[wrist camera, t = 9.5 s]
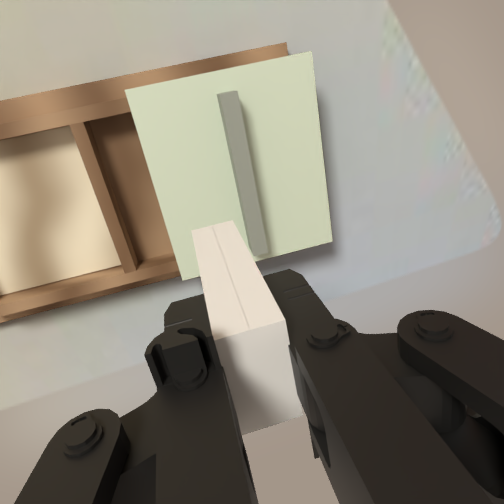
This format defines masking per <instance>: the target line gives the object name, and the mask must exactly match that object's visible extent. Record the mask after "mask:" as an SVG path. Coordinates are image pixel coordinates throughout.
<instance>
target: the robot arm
mask: <svg viewBox="0 0 504 504" xmlns="http://www.w3.org/2000/svg"><path fill="white" fill-rule="evenodd" d="M191 232H192V237H193V242H194V247H195V252H196V257H197V261H198V266H199V271H200V276H201V281H202V286H203V291H204V294H201V295H198V296H194V297H190V298H187V299H183V300H179V301H176V302H172V303H171V304H170V306H169V307H168V309H167V311H166V312H165V314H164V326H165V328H164V332H163V333H161V334H160V335H158V336H157V337H155V338H154V339H153V341H152V342H151V343H150V344H149V345H148V346H147V349H146V352H145V358H146V361H147V363H148V366H149V368H150V371H151V373H152V376H153V379H154V381H155V383H156V386H157V392H156V393H155V395H154V396H153V397H151V398H150V399H149V400H148V401H147V402H145V403H144V404H143V405H141V406H139V407H138V408H136V409H135V410H133V411H131V412H129V413H128V414H126V415H124V416H122V417H120V418H119V417H118V414H116V413H115V412H113V411H111V410H110V409H95V410H92V411H88V412H84V413H83V414H81V415H79V416H77V417H75V418H74V419H71V420H70V421H69V422H67V423H66V424H65V425H64V426H63V427H61V428H60V429H59V430H58V431H57V432H56V434H55V435H54V437H53V438H52V439H51V440H50V442H49V443H48V445H47V447H46V448H45V450H44V452H43V454H42V455H41V457H40V459H39V461H38V462H37V464H36V466H35V468H34V469H33V471H32V473H31V475H30V477H29V478H28V480H27V482H26V484H25V485H24V487H23V489H22V491H21V493H20V494H19V496H18V498H17V500H16V501H15V503H14V504H258V500H257V496H256V491H255V487H254V483H253V478H252V474H251V470H250V466H249V461H248V457H247V454H246V450H245V447H244V443H243V439H242V435H244V434H247V433H251V432H254V431H257V430H260V429H263V428H266V427H269V426H273V425H276V424H279V423H282V422H285V421H288V420H291V419H294V418H297V417H301V416H303V412H302V407H303V409H304V411H305V413H306V416H307V418H308V423H309V429H310V435H311V440H312V446H313V451H314V457H315V459H316V458H319V456H320V459H321V461H322V463H323V466H324V468H325V471H326V473H327V475H328V477H329V480H330V482H331V485H332V487H333V489H334V492H335V494H336V496H337V499H338V501H339V503H340V504H504V340H502V339H500V338H498V337H496V336H494V335H492V334H490V333H489V332H487V331H485V330H483V329H481V328H479V327H477V326H475V325H473V324H471V323H469V322H467V321H465V320H463V319H461V318H459V317H457V316H455V315H452V314H449V313H447V312H442V311H435V310H425V311H424V310H423V311H416V312H413V313H410V314H408V315H406V316H405V317H403V318H402V319H401V320H400V322H399V324H398V327H397V333H387V334H362V333H358V332H357V331H356V329H355V328H353V327H352V326H351V325H350V324H348V323H347V322H345V321H342V320H339V319H334V318H333V316H332V315H331V313H330V312H329V311H328V309H327V308H326V307H325V305H324V304H323V303H322V301H321V300H320V299H319V297H318V296H317V295H316V293H314V291H313V289H312V288H311V286H309V284H308V282H307V281H306V280H305V278H304V277H303V276H302V275H301V274H299V273H297V272H295V271H293V270H290V269H288V270H284V271H280V272H277V273H273V274H269V275H266V276H262V275H261V273H260V271H259V269H258V267H257V265H256V263H255V261H254V259H253V258H252V256H251V254H250V252H249V250H248V248H247V246H246V244H245V242H244V241H243V239H242V237H241V235H240V233H239V231H238V229H237V227H236V226H235V224H234V222H233V220H231V221H227V222H223V223H219V224H215V225H211V226H207V227H203V228H199V229H195V230H191ZM301 404H302V407H301Z"/></svg>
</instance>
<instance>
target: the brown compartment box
mask: <svg viewBox="0 0 504 504" xmlns="http://www.w3.org/2000/svg"><path fill="white" fill-rule="evenodd" d="M285 56H288V51H287V44H286V43H281V44H276V45H271V46H266V47H261V48H256V49H251V50H247V51H242V52H237V53H232V54H227V55H222V56H217V57H212V58H207V59H203V60H198V61H193V62H188V63H183V64H178V65H173V66H168V67H163V68H159V69H154V70H149V71H144V72H139V73H134V74H129V75H124V76H119V77H115V78H110V79H105V80H100V81H95V82H90V83H85V84H80V85H76V86H71V87H66V88H61V89H56V90H51V91H46V92H41V93H36V94H32V95H27V96H22V97H17V98H12V99H7V100H2V101H0V323H2V322H5V321H9V320H13V319H17V318H21V317H25V316H28V315H32V314H36V313H40V312H44V311H48V310H51V309H55V308H59V307H63V306H67V305H71V304H74V303H78V302H82V301H86V300H90V299H94V298H97V297H101V296H105V295H109V294H113V293H117V292H120V291H124V290H128V289H132V288H136V287H140V286H143V285H147V284H151V283H155V282H159V281H163V280H166V279H170V278H174V277H178V276H181V274H180V271H179V267H178V264H177V261H176V257H175V254H174V251H173V248H172V244H171V241H170V238H169V234H168V231H167V228H166V225H165V221H164V218H163V215H162V211H161V208H160V205H159V202H158V198H157V195H156V192H155V188H154V185H153V182H152V179H151V175H150V172H149V169H148V165H147V162H146V159H145V156H144V152H143V149H142V146H141V142H140V139H139V136H138V133H137V129H136V126H135V123H134V119H133V116H132V113H131V110H130V106H129V103H128V100H127V96H126V93H125V90H126V89H131V88H136V87H141V86H146V85H150V84H155V83H160V82H165V81H170V80H174V79H179V78H184V77H189V76H194V75H198V74H203V73H208V72H213V71H218V70H222V69H227V68H232V67H237V66H242V65H246V64H251V63H256V62H261V61H266V60H270V59H275V58H280V57H285Z"/></svg>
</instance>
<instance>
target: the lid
mask: <svg viewBox="0 0 504 504" xmlns="http://www.w3.org/2000/svg"><path fill="white" fill-rule="evenodd" d="M125 93H126V96H127V100H128V103H129V106H130V110H131V113H132V116H133V119H134V123H135V126H136V129H137V133H138V136H139V139H140V142H141V146H142V149H143V152H144V156H145V159H146V162H147V165H148V169H149V172H150V175H151V179H152V182H153V185H154V188H155V192H156V195H157V198H158V202H159V205H160V208H161V211H162V215H163V218H164V221H165V225H166V228H167V231H168V234H169V238H170V241H171V244H172V248H173V251H174V254H175V257H176V261H177V264H178V267H179V271H180V274H181V277H182V280H187V279H191V278H195V277H199V276H200V271H199V266H198V261H197V257H196V252H195V247H194V242H193V237H192V232H191V230H195V229H199V228H203V227H207V226H211V225H215V224H219V223H223V222H227V221H231V220H233V222H234V224H235V226H236V227H237V229H238V231H239V233H240V235H241V237H242V239H243V241H244V242H245V244H246V246H247V248H248V250H249V252H250V254H251V256H252V258H253V259H254V261H255V262H256V261H260V260H264V259H267V258H271V257H275V256H279V255H283V254H286V253H290V252H294V251H298V250H302V249H306V248H309V247H313V246H317V245H321V244H325V243H328V242H332V241H333V240H332V231H331V222H330V213H329V204H328V195H327V186H326V177H325V168H324V159H323V150H322V141H321V132H320V123H319V114H318V105H317V96H316V87H315V78H314V68H313V59H312V51H309V52H304V53H299V54H294V55H290V56H285V57H280V58H275V59H270V60H266V61H261V62H256V63H251V64H246V65H242V66H237V67H232V68H227V69H222V70H218V71H213V72H208V73H203V74H198V75H194V76H189V77H184V78H179V79H174V80H170V81H165V82H160V83H155V84H150V85H146V86H141V87H136V88H131V89H126V90H125Z"/></svg>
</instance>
